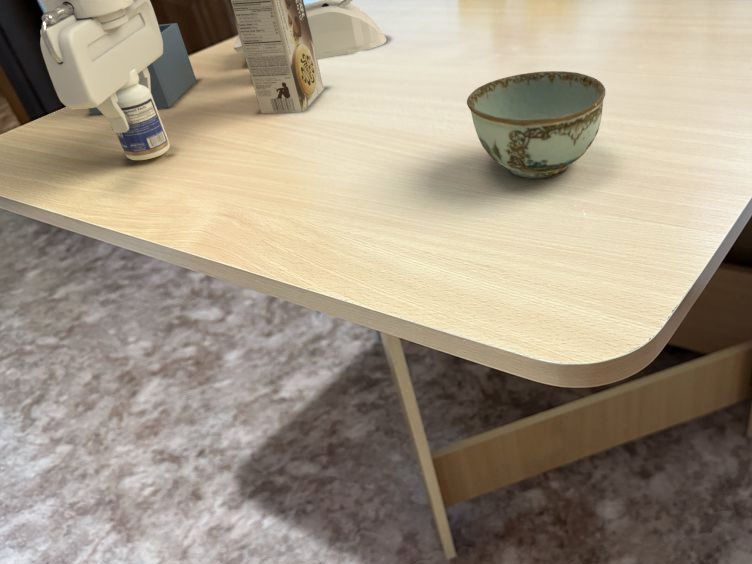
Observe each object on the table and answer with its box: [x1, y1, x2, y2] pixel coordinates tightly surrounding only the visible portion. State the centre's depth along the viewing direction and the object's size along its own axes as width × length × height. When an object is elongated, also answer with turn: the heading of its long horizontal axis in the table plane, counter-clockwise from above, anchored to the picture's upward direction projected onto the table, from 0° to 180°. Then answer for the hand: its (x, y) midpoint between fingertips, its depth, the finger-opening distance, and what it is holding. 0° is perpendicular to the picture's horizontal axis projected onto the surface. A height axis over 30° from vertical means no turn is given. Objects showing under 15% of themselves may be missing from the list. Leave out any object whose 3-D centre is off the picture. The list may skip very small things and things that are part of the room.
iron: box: [233, 0, 387, 59], centre depth 112 cm, size 11×24×15 cm, turn 99°
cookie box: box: [228, 0, 325, 114], centre depth 92 cm, size 9×6×16 cm
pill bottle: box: [115, 69, 171, 161], centre depth 82 cm, size 5×5×10 cm
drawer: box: [87, 22, 197, 116], centre depth 104 cm, size 16×12×9 cm
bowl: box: [466, 70, 606, 181], centre depth 70 cm, size 14×13×8 cm
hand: (135, 119), depth 83 cm, fingers closed on pill bottle, 5 cm apart
